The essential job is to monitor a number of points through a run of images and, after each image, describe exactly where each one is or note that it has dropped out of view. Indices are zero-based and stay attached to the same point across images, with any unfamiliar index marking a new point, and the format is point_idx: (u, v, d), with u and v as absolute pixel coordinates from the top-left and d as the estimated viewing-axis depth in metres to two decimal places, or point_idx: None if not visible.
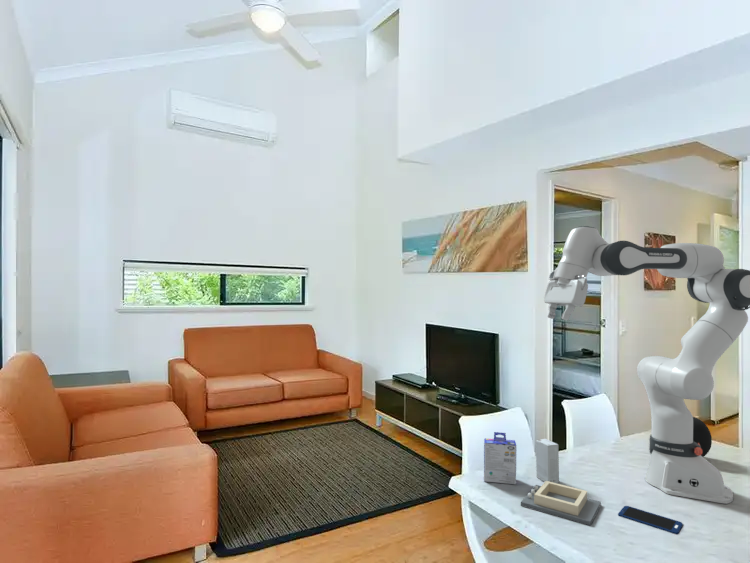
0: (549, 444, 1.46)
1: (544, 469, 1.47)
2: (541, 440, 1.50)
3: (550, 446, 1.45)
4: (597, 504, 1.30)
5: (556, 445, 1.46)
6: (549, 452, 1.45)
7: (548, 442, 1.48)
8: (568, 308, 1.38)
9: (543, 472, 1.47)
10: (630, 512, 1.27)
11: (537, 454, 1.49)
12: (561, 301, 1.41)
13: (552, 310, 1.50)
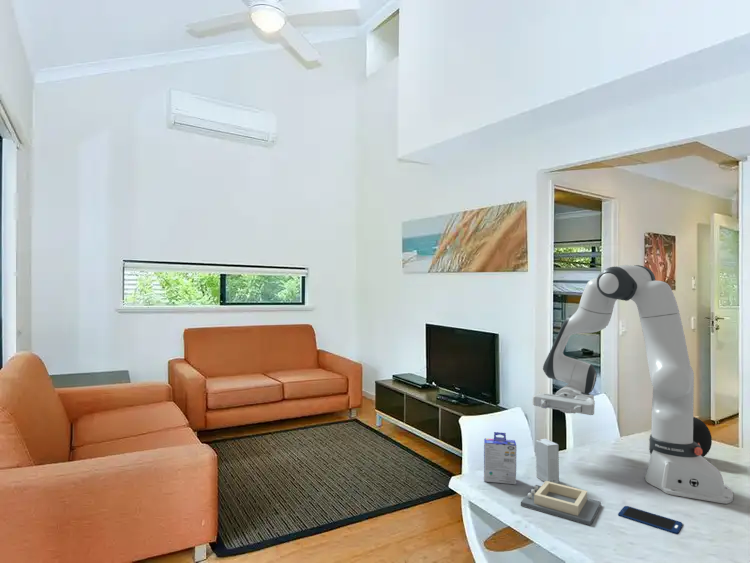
0: (549, 444, 1.46)
1: (544, 469, 1.47)
2: (541, 440, 1.50)
3: (550, 446, 1.45)
4: (597, 504, 1.30)
5: (556, 445, 1.46)
6: (549, 452, 1.45)
7: (548, 442, 1.48)
8: (541, 404, 1.65)
9: (543, 472, 1.47)
10: (630, 512, 1.27)
11: (537, 454, 1.49)
12: (552, 408, 1.64)
13: None
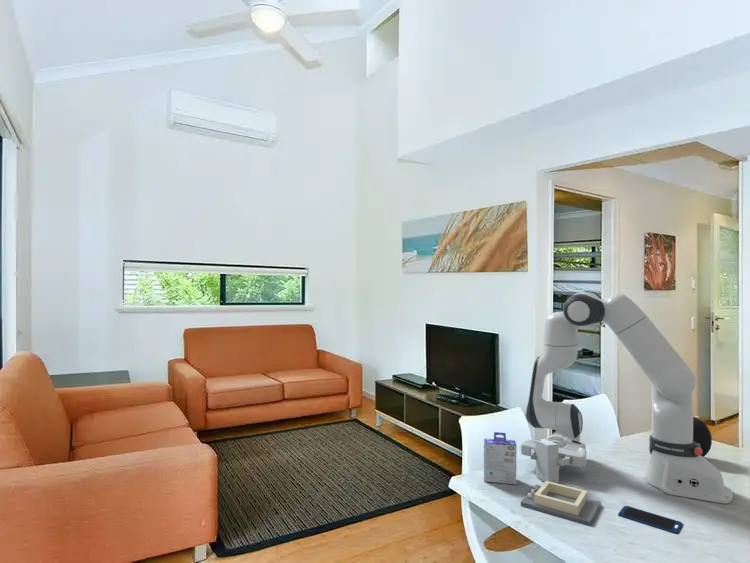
0: (549, 444, 1.46)
1: (544, 469, 1.47)
2: (541, 440, 1.50)
3: (550, 446, 1.45)
4: (597, 504, 1.30)
5: (556, 445, 1.46)
6: (549, 452, 1.45)
7: (548, 442, 1.48)
8: None
9: (543, 472, 1.47)
10: (630, 512, 1.27)
11: (537, 454, 1.49)
12: None
13: None
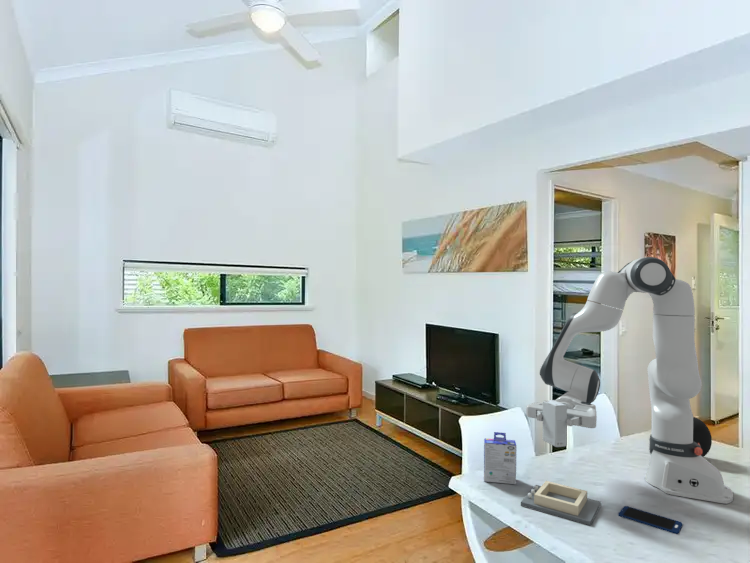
0: (557, 404, 1.37)
1: (550, 431, 1.37)
2: (548, 401, 1.40)
3: (558, 406, 1.36)
4: (597, 504, 1.30)
5: (564, 406, 1.37)
6: (556, 413, 1.36)
7: (556, 403, 1.38)
8: None
9: (550, 434, 1.38)
10: (630, 512, 1.27)
11: (544, 415, 1.40)
12: None
13: None
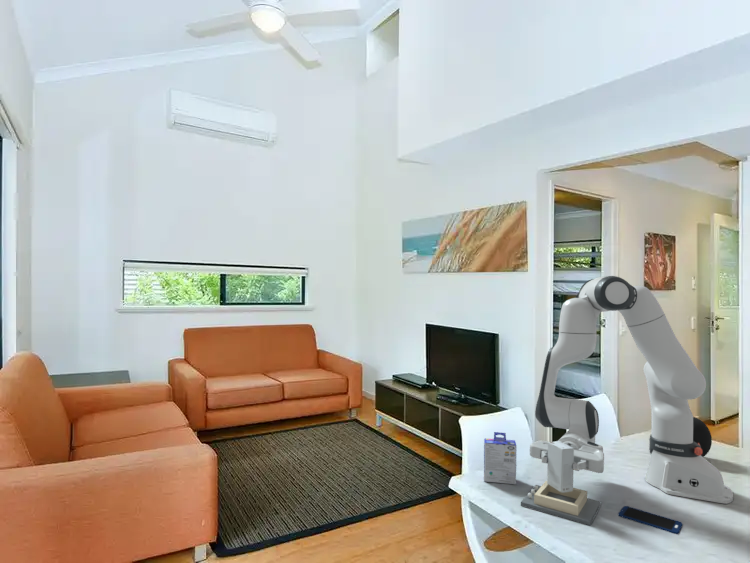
0: (564, 447, 1.29)
1: (556, 475, 1.30)
2: (554, 442, 1.33)
3: (565, 450, 1.28)
4: (597, 504, 1.30)
5: (571, 449, 1.29)
6: (563, 457, 1.28)
7: (562, 445, 1.31)
8: (541, 457, 1.37)
9: (555, 478, 1.30)
10: (630, 512, 1.27)
11: (549, 458, 1.33)
12: None
13: None
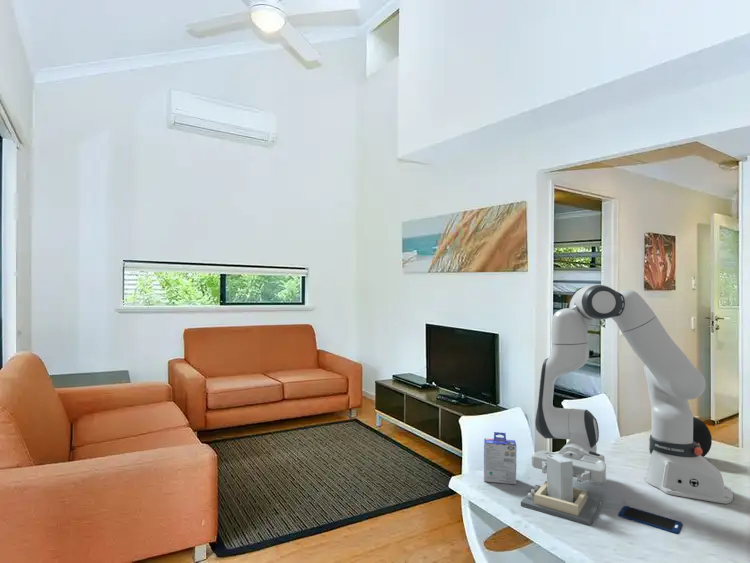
0: (562, 461, 1.30)
1: (556, 489, 1.30)
2: (553, 456, 1.33)
3: (563, 463, 1.29)
4: (597, 504, 1.30)
5: (570, 462, 1.30)
6: (562, 470, 1.29)
7: (561, 458, 1.31)
8: (541, 467, 1.38)
9: (555, 492, 1.30)
10: (630, 512, 1.27)
11: (549, 471, 1.33)
12: None
13: None
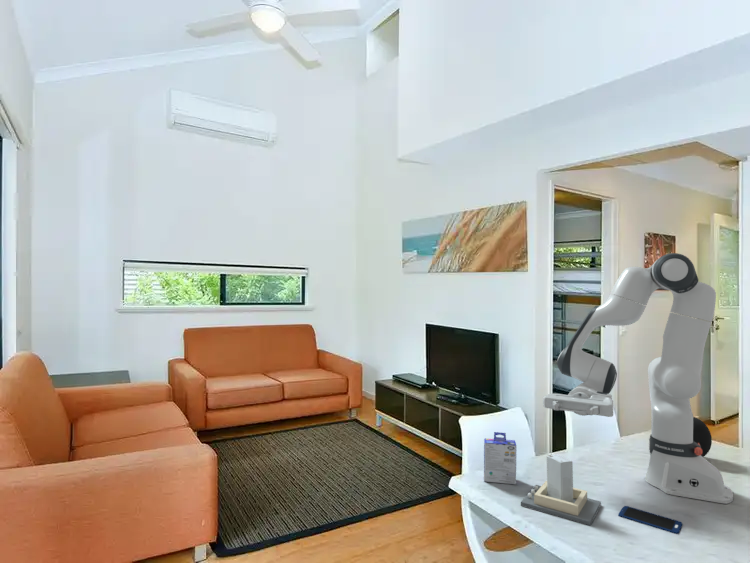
0: (562, 461, 1.30)
1: (556, 489, 1.30)
2: (553, 456, 1.33)
3: (563, 463, 1.29)
4: (597, 504, 1.30)
5: (570, 462, 1.30)
6: (562, 470, 1.29)
7: (561, 458, 1.31)
8: None
9: (555, 492, 1.30)
10: (630, 512, 1.27)
11: (549, 471, 1.33)
12: (565, 410, 1.46)
13: None
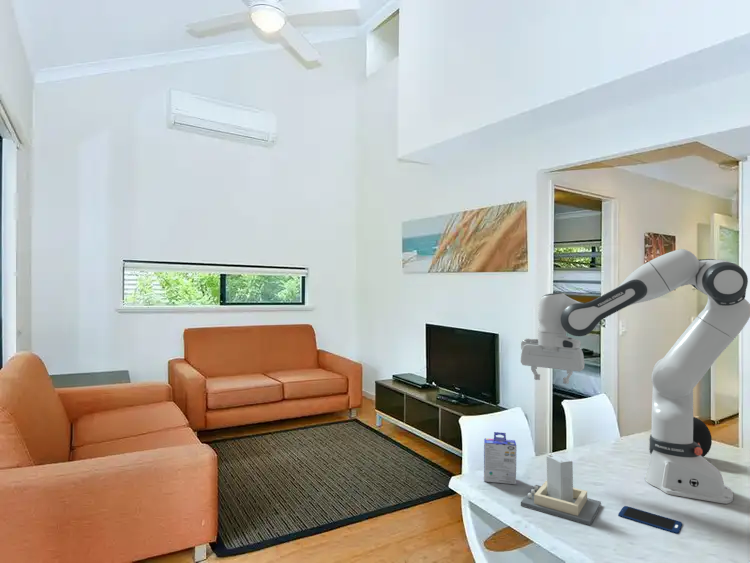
0: (562, 461, 1.30)
1: (556, 489, 1.30)
2: (553, 456, 1.33)
3: (563, 463, 1.29)
4: (597, 504, 1.30)
5: (570, 462, 1.30)
6: (562, 470, 1.29)
7: (561, 458, 1.31)
8: None
9: (555, 492, 1.30)
10: (630, 512, 1.27)
11: (549, 471, 1.33)
12: None
13: None
